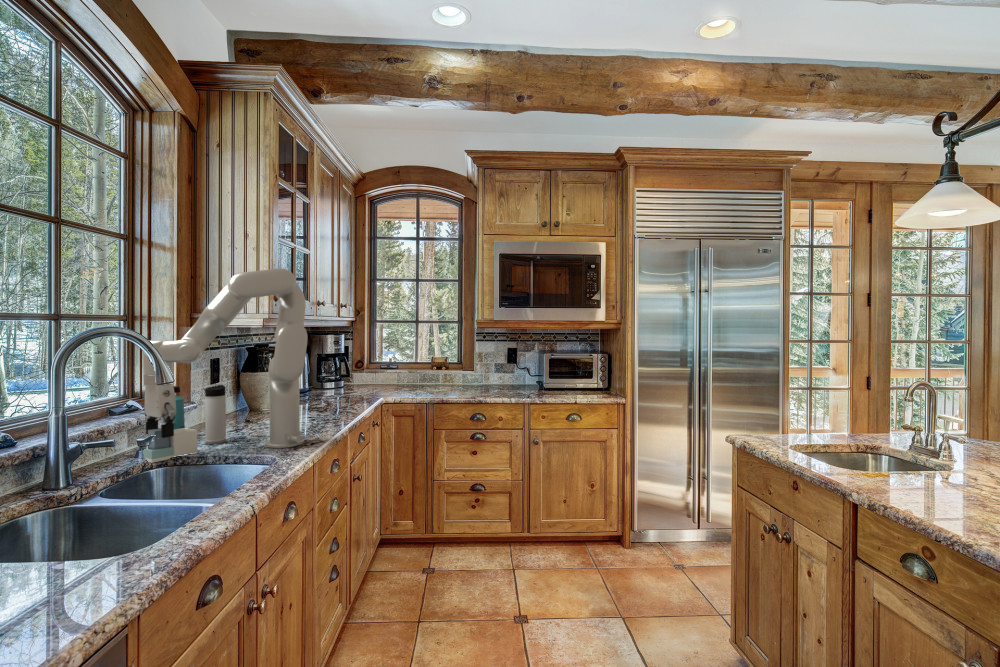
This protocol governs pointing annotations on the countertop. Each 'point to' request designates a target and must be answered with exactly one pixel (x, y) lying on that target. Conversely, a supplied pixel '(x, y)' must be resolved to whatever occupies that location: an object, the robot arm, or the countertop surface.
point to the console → (175, 446)
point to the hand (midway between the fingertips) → (159, 435)
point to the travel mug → (215, 415)
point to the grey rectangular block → (158, 440)
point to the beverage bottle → (179, 410)
